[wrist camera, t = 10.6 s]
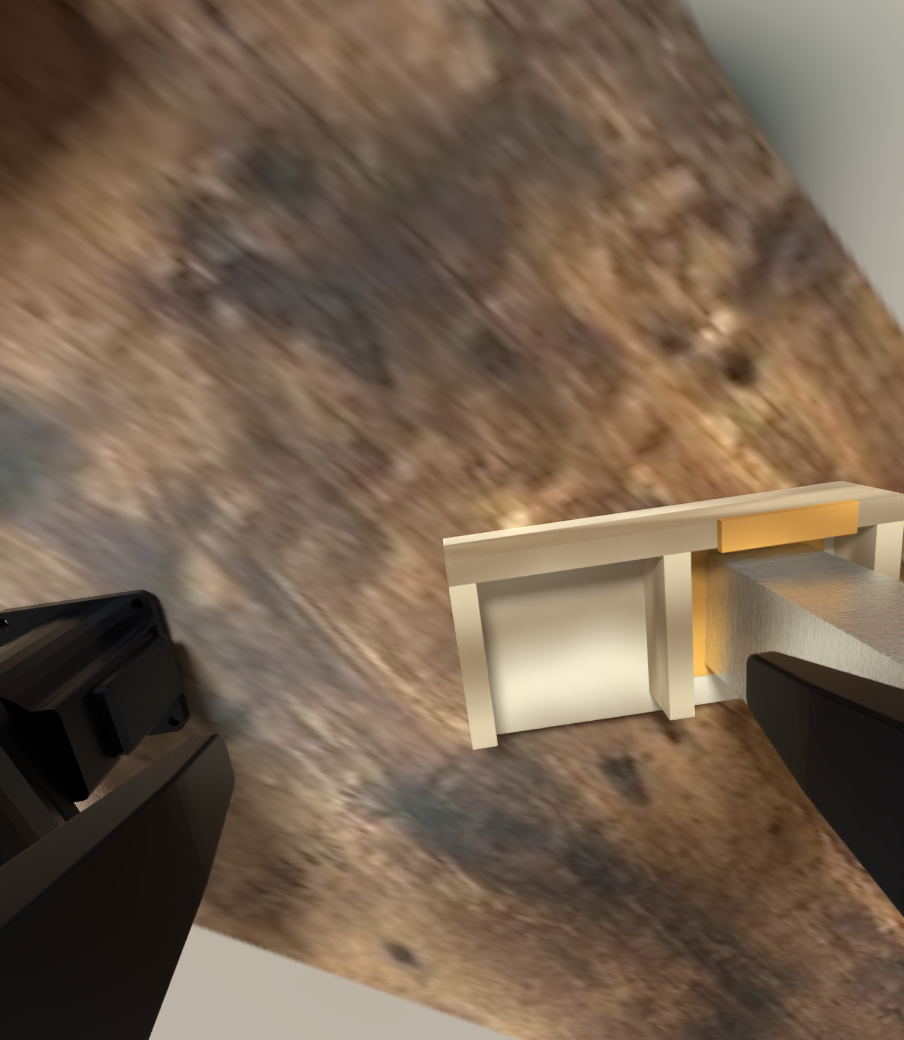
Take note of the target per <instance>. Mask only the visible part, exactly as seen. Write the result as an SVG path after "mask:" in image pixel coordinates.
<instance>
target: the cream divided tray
mask: <svg viewBox="0 0 904 1040" xmlns="http://www.w3.org/2000/svg"><path fill="white" fill-rule="evenodd" d="M903 526H904V494H902V493H897V492H892V491H888V490H883V489H878V488H873V487H868V486H864V485H859V484H854V483H849V482H845V481H837V482H830V483H823V484H816V485H810V486H803V487H796V488H789V489H782V490H775V491H768V492H761V493H754V494H748V495H741V496H734V497H727V498H720V499H713V500H706V501H699V502H692V503H686V504H679V505H672V506H665V507H658V508H651V509H644V510H637V511H630V512H624V513H617V514H610V515H603V516H596V517H589V518H582V519H575V520H568V521H562V522H555V523H548V524H541V525H534V526H527V527H520V528H513V529H506V530H499V531H493V532H486V533H479V534H472V535H465V536H458V537H451V538H444V539H443V545H444V556H445V565H446V571H447V578H448V585H449V592H450V598H451V605H452V612H453V618H454V625H455V632H456V638H457V645H458V652H459V659H460V665H461V672H462V679H463V685H464V692H465V699H466V706H467V712H468V719H469V726H470V732H471V739H472V746H473V749H480V748H487V747H494V746H498V744H497V736H496V735H497V734H504V733H511V732H518V731H524V730H531V729H538V728H545V727H551V726H558V725H565V724H571V723H578V722H585V721H592V720H598V719H605V718H612V717H619V716H625V715H632V714H639V713H645V712H652V711H659V710H663V711H664V713H665V714H666V715H667V717H668V718H669V719H670V720H675V719H682V718H688V717H695V708H694V705H699V704H706V703H713V702H719V701H726V700H733V699H740V697H739V696H738V695H737V694H736V693H735V692H734V691H733V690H732V689H731V688H730V687H729V686H728V685H727V684H726V683H725V682H724V681H723V680H722V679H721V678H720V677H719V676H718V675H716V674H715V673H714V672H713V671H712V670H711V669H710V668H709V667H708V666H707V665H706V664H705V625H706V577H707V553H715V552H721V553H725V552H732V551H739V550H745V549H752V548H760V547H769V546H778V545H787V544H796V543H805V544H808V545H810V546H813V547H815V548H818V549H820V550H823V551H825V552H828V553H830V554H833V555H835V556H838V557H840V558H843V559H845V560H848V561H850V562H853V563H855V564H858V565H860V566H863V567H866V568H868V569H871V570H873V571H876V572H878V573H881V574H883V575H886V576H888V577H891V578H893V579H896V580H898V581H899V575H900V562H901V550H902V538H903Z"/></svg>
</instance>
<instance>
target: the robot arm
mask: <svg viewBox="0 0 904 1040" xmlns="http://www.w3.org/2000/svg"><path fill="white" fill-rule="evenodd" d="M136 599H139V600H141V601H142V602H143V604H144V607H141V606H139V605H138V604H137V602H136ZM5 620H7V621H8V622H9V623H10V626H9V625H8V624H6V622H5ZM183 690H184V687H183V684H182V680H181V677H180V674H179V670H178V667H177V664H176V660H175V657H174V654H173V650H172V647H171V644H170V640H169V639H168V638H167V637H166V636H165V632H164V629H163V626H162V622H161V619H160V616H159V612H158V609H157V606H156V602H155V599H154V597H153V595H152V594H150V593H149V592H147V591H145V590H136V591H129V592H122V593H115V594H108V595H101V596H94V597H88V598H81V599H74V600H67V601H60V602H53V603H46V604H39V605H32V606H26V607H19V608H12V609H6V610H3V611H1V612H0V1040H149V1038H150V1035H151V1032H152V1029H153V1027H154V1024H155V1022H156V1019H157V1016H158V1014H159V1011H160V1008H161V1006H162V1003H163V1001H164V997H165V995H166V993H167V990H168V987H169V985H170V982H171V979H172V976H173V974H174V971H175V969H176V966H177V963H178V961H179V958H180V955H181V953H182V950H183V947H184V945H185V942H186V940H187V937H188V934H189V931H190V929H191V926H192V924H193V921H194V918H195V916H196V913H197V910H198V908H199V905H200V902H201V900H202V897H203V894H204V891H205V888H206V886H207V883H208V880H209V876H210V873H211V870H212V866H213V863H214V859H215V855H216V852H217V848H218V844H219V840H220V837H221V833H222V829H223V826H224V822H225V818H226V815H227V811H228V807H229V804H230V800H231V796H232V793H233V789H234V779H235V778H234V771H233V767H232V764H231V760H230V757H229V753H228V750H227V746H226V743H225V740H224V737H223V736H222V734H220V733H218V732H213V733H206V734H200V735H195V736H193V737H191V738H190V739H188V740H187V741H186V742H184V743H183V744H181V745H180V746H178V747H177V748H175V749H174V750H172V751H171V752H169V753H168V754H166V755H165V756H163V757H162V758H160V759H159V760H157V761H156V762H154V763H153V764H152V765H150V766H149V767H147V768H146V769H144V770H143V771H141V772H140V773H138V774H137V775H135V776H134V777H132V778H131V779H129V780H128V781H126V782H125V783H123V784H122V785H120V786H119V787H118V788H116V789H115V790H113V791H112V792H110V793H109V794H107V795H106V796H104V797H103V798H101V799H100V800H98V801H97V802H95V803H94V804H92V805H91V806H89V807H88V808H86V809H85V810H83V811H82V812H80V811H79V810H78V808H77V807H76V805H75V804H74V803H73V802H79V801H84V800H86V799H87V798H88V797H89V796H90V795H91V794H92V792H93V791H94V790H95V789H96V788H97V786H98V785H99V784H100V783H101V782H102V781H103V779H104V778H105V777H106V776H107V775H108V773H109V772H110V771H111V770H112V769H113V768H114V766H115V765H116V764H117V763H118V762H119V760H120V759H121V758H122V757H123V756H129V755H130V754H131V753H132V752H133V751H134V750H135V749H136V747H137V746H138V745H139V744H140V743H141V741H142V740H143V739H144V738H145V737H146V736H147V735H154V734H160V733H167V732H174V731H178V730H181V729H182V728H183V727H184V726H185V725H186V723H187V722H188V720H189V712H188V708H187V705H186V702H185V699H184V695H183V692H182V691H183ZM746 701H747V705H748V707H749V710H750V712H751V713H752V715H753V716H754V718H755V719H756V721H757V722H758V724H759V725H760V727H761V729H762V730H763V732H764V733H765V735H766V736H767V738H768V739H769V741H770V742H771V744H772V745H773V747H774V748H775V750H776V751H777V753H778V754H779V756H780V757H781V759H782V760H783V762H784V763H785V765H786V766H787V768H788V769H789V771H790V772H791V774H792V775H793V777H794V779H795V780H796V781H797V783H798V784H799V786H800V787H801V789H802V790H803V791H804V793H805V794H806V796H807V797H808V798H809V799H810V801H811V802H812V803H813V805H814V806H815V807H816V809H817V810H818V811H819V812H820V814H821V815H822V816H823V817H824V819H825V820H826V821H827V822H828V824H829V825H830V826H831V827H832V829H833V830H834V831H835V832H836V833H837V835H838V836H839V837H840V838H841V840H842V841H843V842H844V843H845V845H846V846H847V847H848V848H849V850H850V851H851V852H852V853H853V855H854V856H855V857H856V858H857V860H858V861H859V862H860V863H861V865H862V866H863V867H864V868H865V870H866V871H867V872H868V873H869V875H870V876H871V877H872V878H873V880H874V881H875V882H876V883H877V885H878V886H879V887H880V888H881V890H882V891H883V892H884V893H885V895H886V896H887V897H888V898H889V900H890V901H891V902H892V903H893V905H894V906H895V907H896V908H897V910H898V911H899V912H900V913H901V915H902V916H903V917H904V689H902V688H898V687H895V686H891V685H888V684H885V683H881V682H878V681H874V680H871V679H868V678H864V677H861V676H858V675H854V674H851V673H847V672H844V671H841V670H837V669H834V668H830V667H827V666H824V665H820V664H817V663H813V662H810V661H807V660H803V659H800V658H797V657H793V656H790V655H786V654H783V653H780V652H776V651H768V652H761V653H754V654H751V655H750V656H749V657H748V658H747V661H746ZM172 716H175V717H177V718H178V719H179V721H177V720H175V719H173V717H172Z"/></svg>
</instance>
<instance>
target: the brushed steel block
mask: <svg viewBox="0 0 904 1040" xmlns="http://www.w3.org/2000/svg"><path fill="white" fill-rule="evenodd" d="M768 651H776V652H780V653H783V654H786V655H790V656H793V657H797V658H800V659H803V660H807V661H810V662H813V663H817V664H820V665H824V666H827V667H830V668H834V669H837V670H841V671H844V672H847V673H851V674H854V675H858V676H861V677H864V678H868V679H871V680H874V681H878V682H881V683H885V684H888V685H891V686H895V687H898V688H902V689H904V583H903V582H901V581H898V580H896V579H893V578H891V577H888V576H886V575H883V574H881V573H878V572H876V571H873V570H871V569H868V568H866V567H863V566H860V565H858V564H855V563H853V562H850V561H848V560H845V559H843V558H840V557H838V556H835V555H833V554H830V553H828V552H825V551H823V550H820V549H818V548H815V547H813V546H810V545H808V544H805V543H796V544H787V545H778V546H769V547H760V548H752V549H745V550H739V551H732V552H725V553H721V552H715V553H707V577H706V625H705V664H706V665H707V666H708V667H709V668H710V669H711V670H712V671H713V672H714V673H715V674H716V675H718V676H719V677H720V678H721V679H722V680H723V681H724V682H725V683H726V684H727V685H728V686H729V687H730V688H731V689H732V690H733V691H734V692H735V693H736V694H737V695H738V696H739V697H740V698H741V699H742V700H743V701H744V702H745V703H746V704H747V701H746V661H747V658H748V657H749V656H750V655H751V654H754V653H761V652H768Z"/></svg>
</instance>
